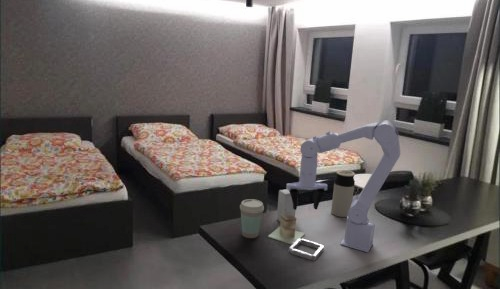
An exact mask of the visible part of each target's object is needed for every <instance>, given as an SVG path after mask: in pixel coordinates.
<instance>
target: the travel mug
mask: <svg viewBox="0 0 500 289" xmlns="http://www.w3.org/2000/svg"><path fill="white" fill-rule="evenodd" d="M355 176H356V173H355V172H354V171H351V170H348V169H338V170H336V177H334V182H333V183H334V184H333V193H332V201H331V208H330V209H331V210H330V212H331V214H333V215H334V216H336V217H339V218H347V216H348V210H349V209H350V207H351V203H352V201H353V200H354V199H353V198H354V192H355V191H354V190H355V184H356V181H355Z"/></svg>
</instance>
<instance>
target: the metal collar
mask: <svg viewBox="0 0 500 289" xmlns="http://www.w3.org/2000/svg"><path fill="white" fill-rule="evenodd" d="M300 245H304V246H306V247H310V248H313V249H317V250H315V252H314V253H313V254H312V253H309V252H306V251H303V250H300V249H297V248H298V247H299V246H300ZM324 250H325V246H324V245H323V244H322V243H320V242H319V243H318V242H315V241H311V240H308V239H304V238H301V239H300V238H298V239H297V240H296V241H295V242H294V243H293V244H292V245H291V244H290V246H289V247H288V253H290V254H291V255H295V256H297V257H301V258H303V259H307V260H309V261H312V260H313V261H316V260H317V259H318V257H319V256H320V255H321V254H322V253H323V252H324Z"/></svg>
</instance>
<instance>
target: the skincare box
mask: <svg viewBox="0 0 500 289" xmlns="http://www.w3.org/2000/svg"><path fill="white" fill-rule="evenodd" d="M277 200H278V201H277V212H276V220H277V221H278V222H280V220H281V215H286V214H292V215H293V216H294V217H295V218H296V210H294V208H293V202H292V197H291V194H290V192H289V190H287V189H279V190H278V197H277Z"/></svg>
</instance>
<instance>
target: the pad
mask: <svg viewBox="0 0 500 289" xmlns="http://www.w3.org/2000/svg"><path fill="white" fill-rule="evenodd" d="M279 232H280V226H278V227H277V228H276V229H275V230H273V231H272V232H271V233H270V234H268V236H267V238H269V239H273V240H276V241H279V242H282V243H285V244H288V245H290V246H291V245H292V244H293V243H294V242H295V241H296V240H297V239H298V238H300V239H303V237H304V236H305V235H306V233H305V232H301V231H298V230H295V237H290V238H284V237H283V236H282V235H281V234H280V233H279Z"/></svg>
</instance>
